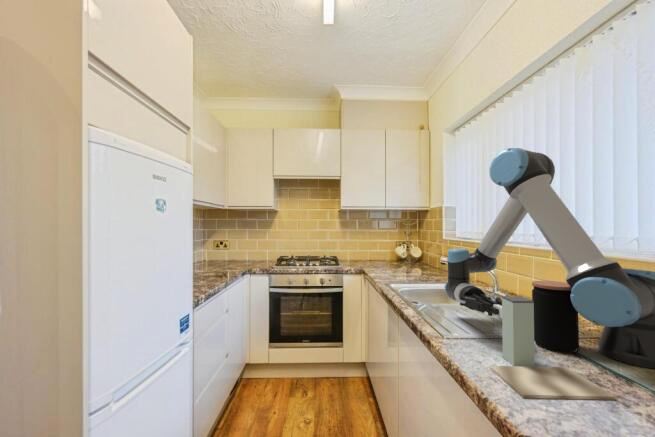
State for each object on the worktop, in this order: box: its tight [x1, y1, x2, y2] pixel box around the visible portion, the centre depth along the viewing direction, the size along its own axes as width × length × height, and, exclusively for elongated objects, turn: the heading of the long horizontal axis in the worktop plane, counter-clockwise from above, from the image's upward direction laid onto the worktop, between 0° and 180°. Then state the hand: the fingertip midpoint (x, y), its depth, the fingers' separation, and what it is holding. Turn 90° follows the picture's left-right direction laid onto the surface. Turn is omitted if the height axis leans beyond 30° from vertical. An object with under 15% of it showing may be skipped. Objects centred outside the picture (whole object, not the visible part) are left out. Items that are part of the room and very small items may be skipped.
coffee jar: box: [531, 280, 580, 354], centre depth 88 cm, size 11×11×18 cm
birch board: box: [489, 365, 617, 401], centre depth 67 cm, size 18×13×1 cm
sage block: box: [501, 295, 535, 367], centre depth 77 cm, size 5×5×16 cm
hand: (508, 315), depth 80 cm, fingers closed
